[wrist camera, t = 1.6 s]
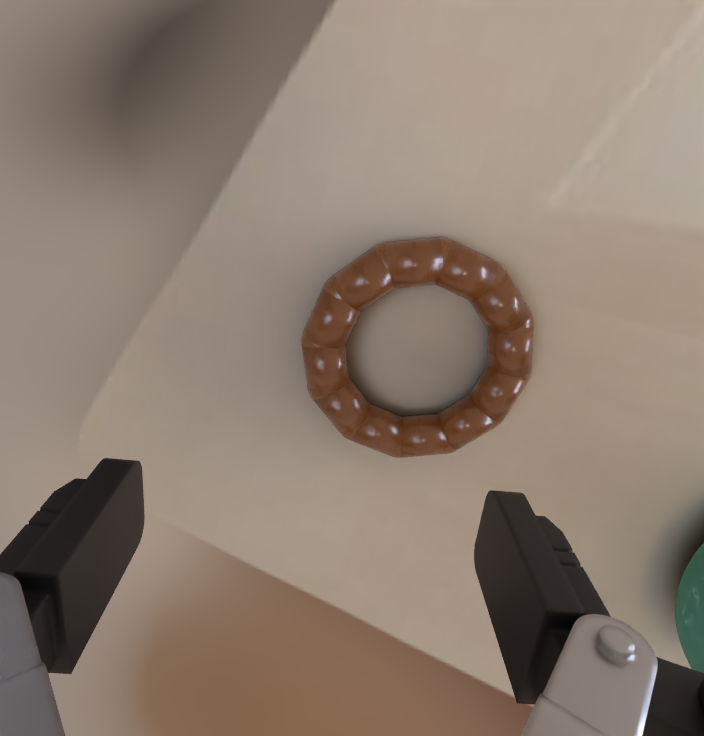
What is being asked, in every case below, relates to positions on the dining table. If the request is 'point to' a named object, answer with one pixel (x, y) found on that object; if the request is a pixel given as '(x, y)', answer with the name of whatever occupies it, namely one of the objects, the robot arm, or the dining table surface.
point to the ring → (404, 269)
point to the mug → (692, 611)
